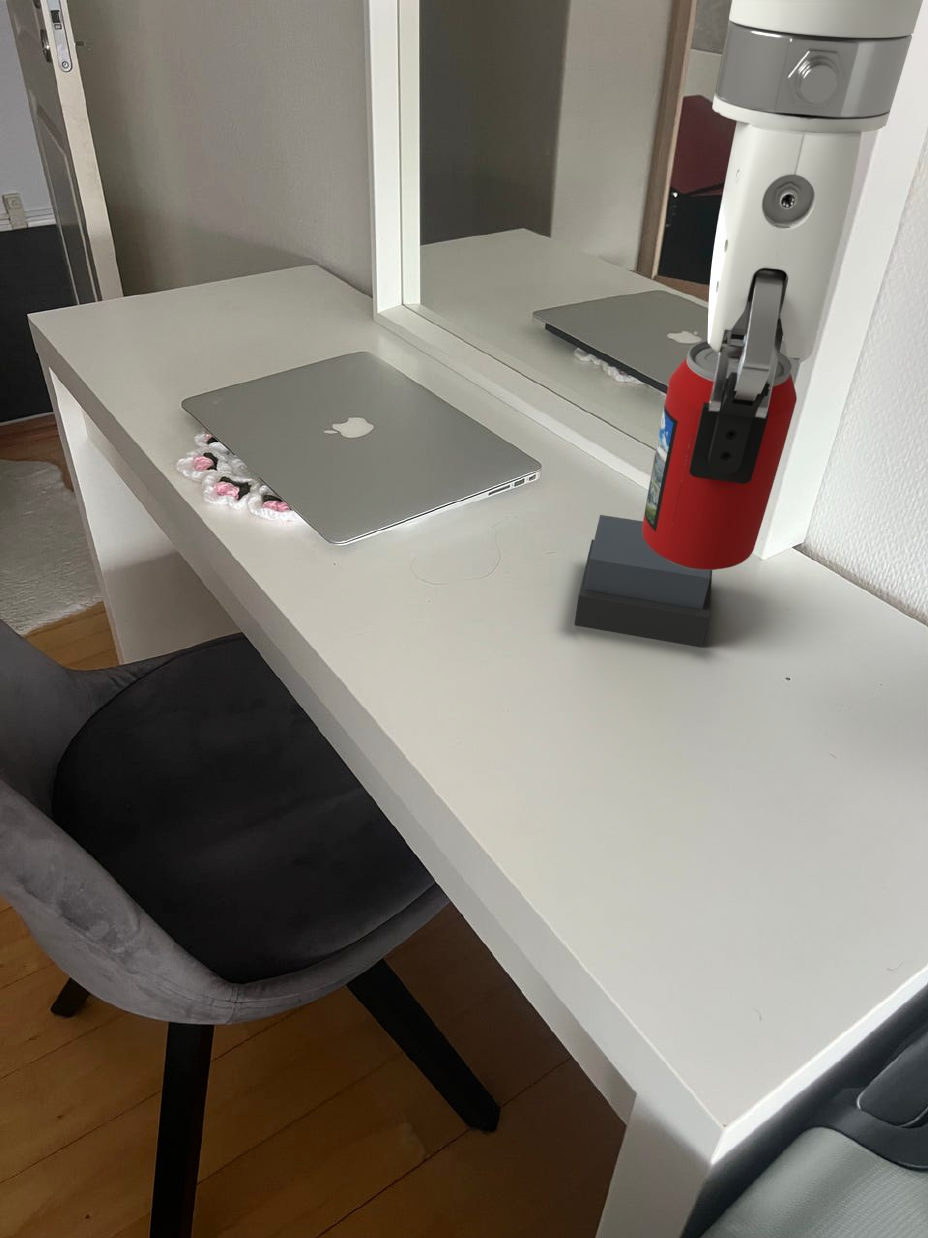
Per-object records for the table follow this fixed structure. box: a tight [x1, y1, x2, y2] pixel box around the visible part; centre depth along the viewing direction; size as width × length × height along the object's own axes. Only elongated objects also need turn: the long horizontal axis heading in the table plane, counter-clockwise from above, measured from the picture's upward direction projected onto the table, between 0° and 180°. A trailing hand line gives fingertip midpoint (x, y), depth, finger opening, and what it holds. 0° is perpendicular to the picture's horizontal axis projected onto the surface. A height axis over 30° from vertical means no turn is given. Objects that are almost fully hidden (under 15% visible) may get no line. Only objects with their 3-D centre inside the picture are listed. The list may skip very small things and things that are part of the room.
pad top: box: [585, 514, 711, 609], centre depth 72 cm, size 9×6×3 cm
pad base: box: [574, 538, 713, 648], centre depth 74 cm, size 10×8×3 cm
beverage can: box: [642, 339, 798, 571], centre depth 52 cm, size 7×7×12 cm
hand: (720, 441), depth 51 cm, fingers closed on beverage can, 6 cm apart
